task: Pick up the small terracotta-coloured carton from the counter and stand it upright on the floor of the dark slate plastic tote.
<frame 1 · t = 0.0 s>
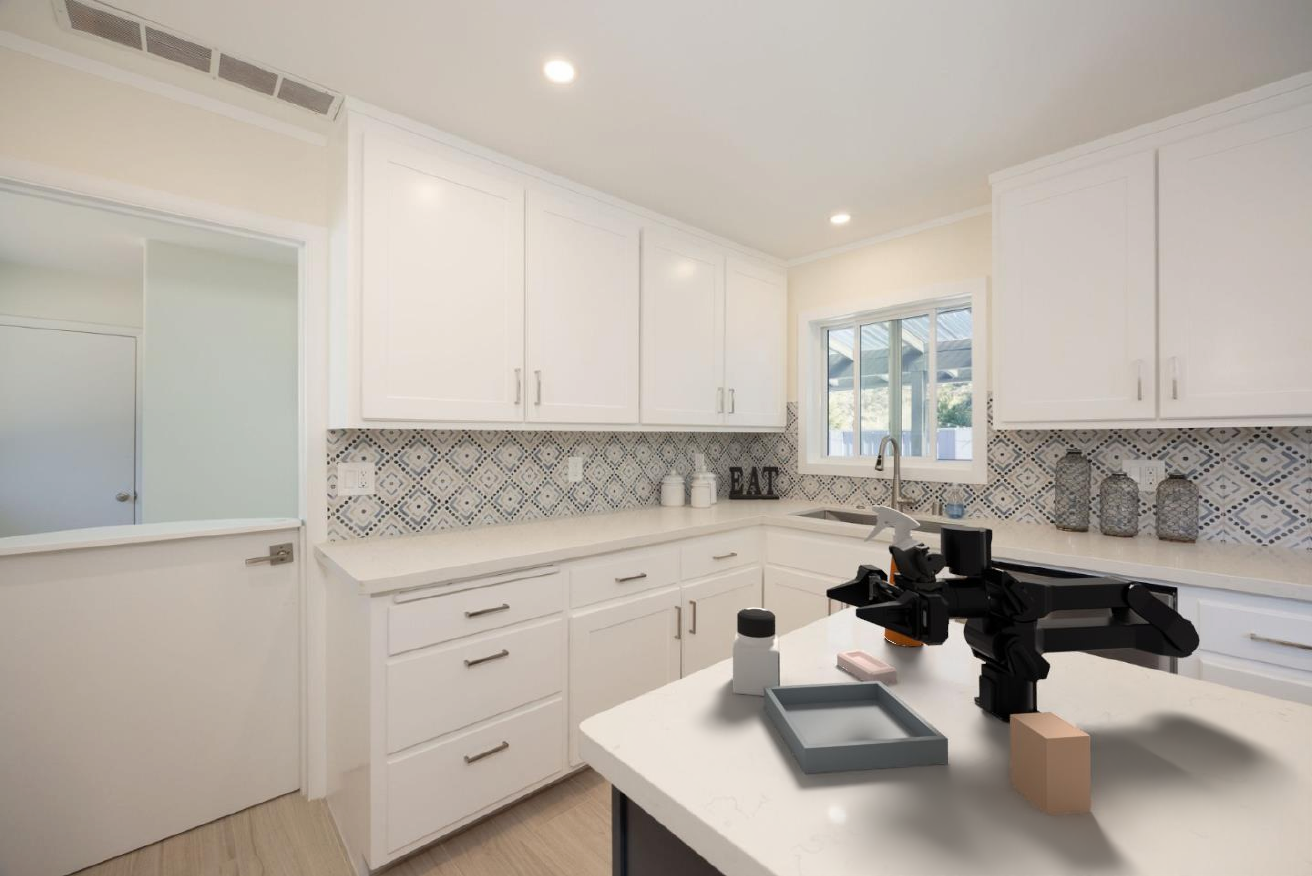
hand: (840, 602, 75), 17 cm above the worktop, tool horizontal, fingers open, 9 cm apart
medicine bottle: (756, 687, 86), on the worktop
carton: (1049, 797, 59), on the worktop
tote: (846, 732, 72), on the worktop
soap bar: (865, 675, 91), on the worktop
spray bottle: (893, 639, 106), on the worktop
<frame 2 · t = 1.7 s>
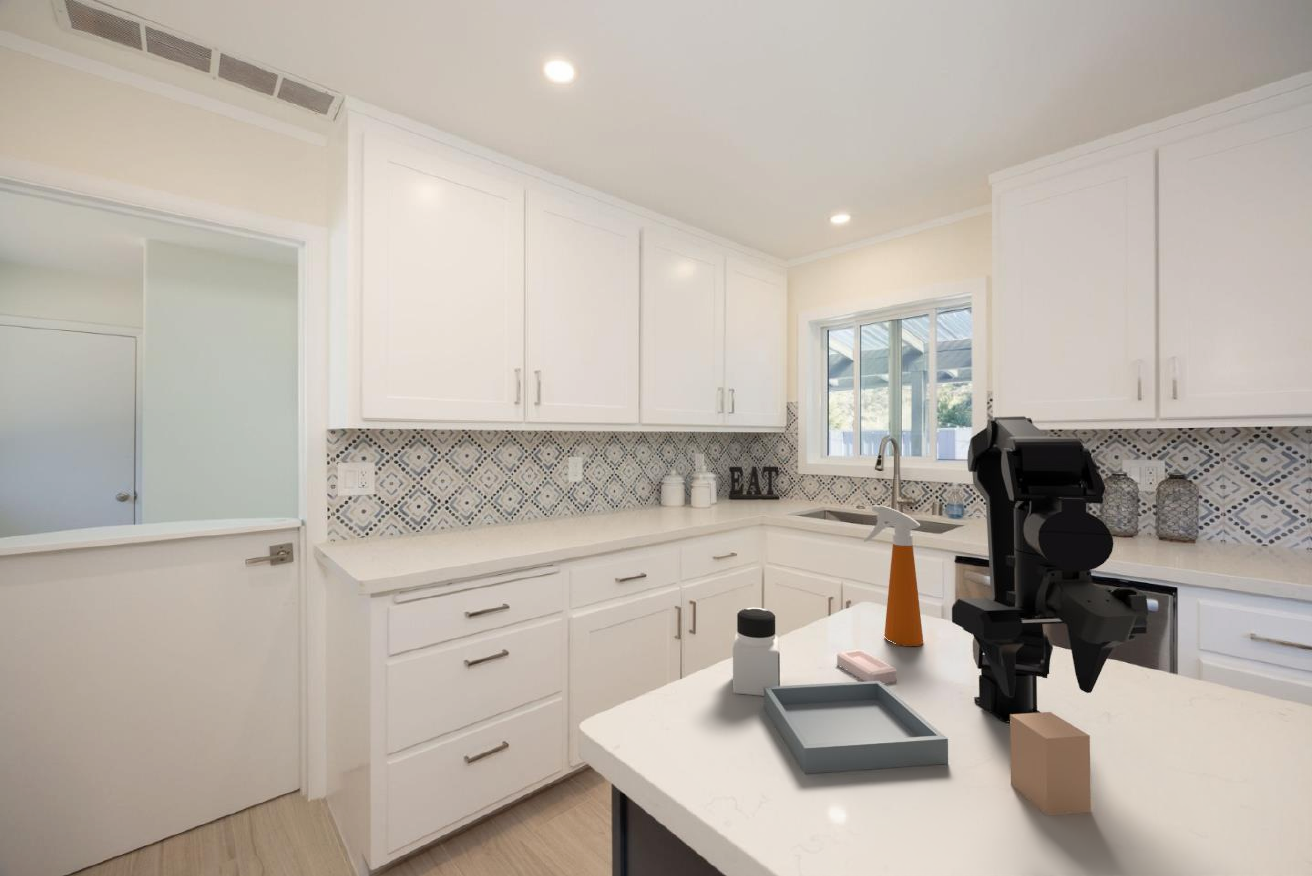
hand: (1047, 693, 59), 11 cm above the worktop, tool pointing down, fingers open, 9 cm apart
nothing on the worktop moved.
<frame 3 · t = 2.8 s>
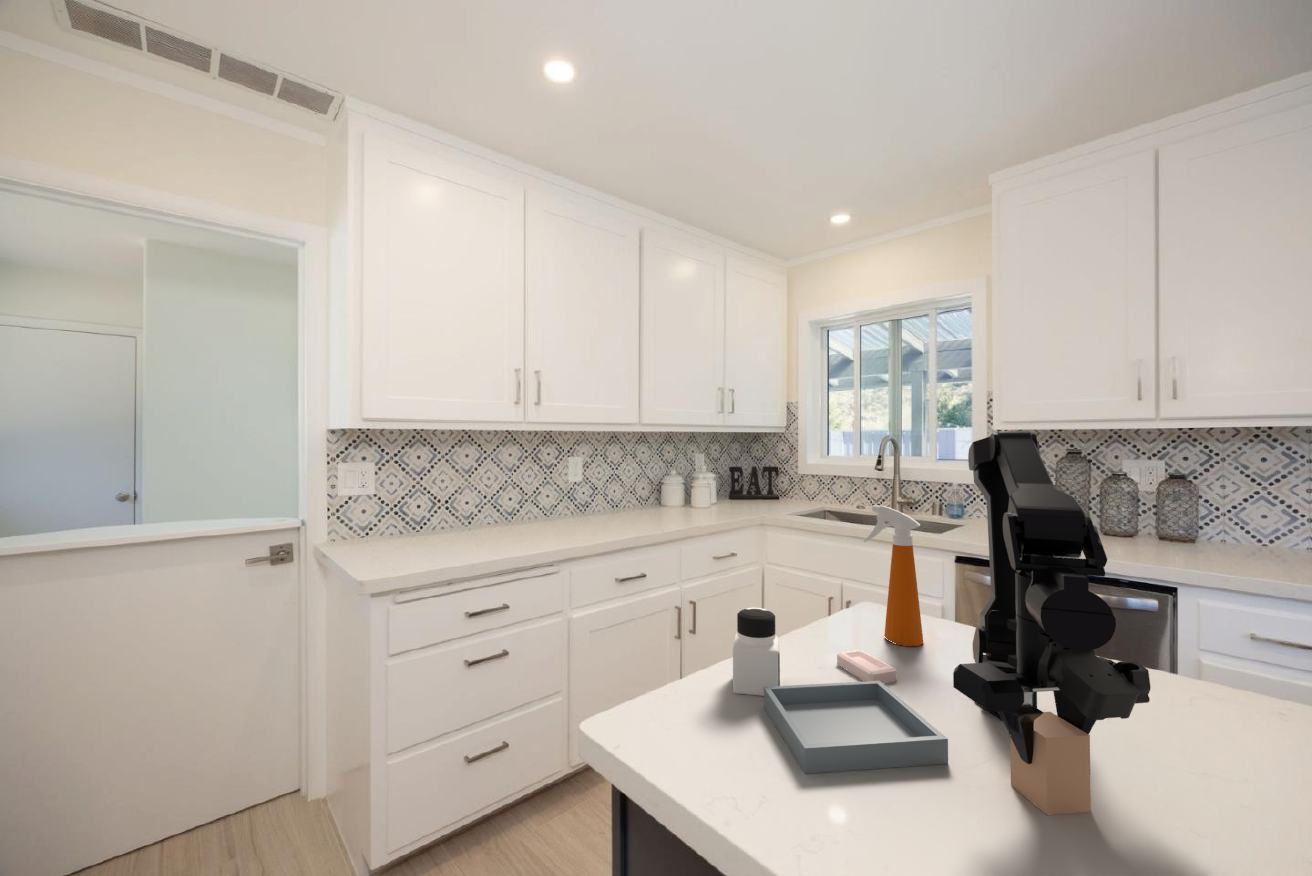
hand: (1048, 760, 59), 4 cm above the worktop, tool pointing down, fingers closed on carton, 5 cm apart
carton: (1049, 797, 59), on the worktop, touching gripper
everything else where it was.
when the fingers open (6 cm above the worktop, at t = 7.2 s): carton drops 2 cm, resting on tote.
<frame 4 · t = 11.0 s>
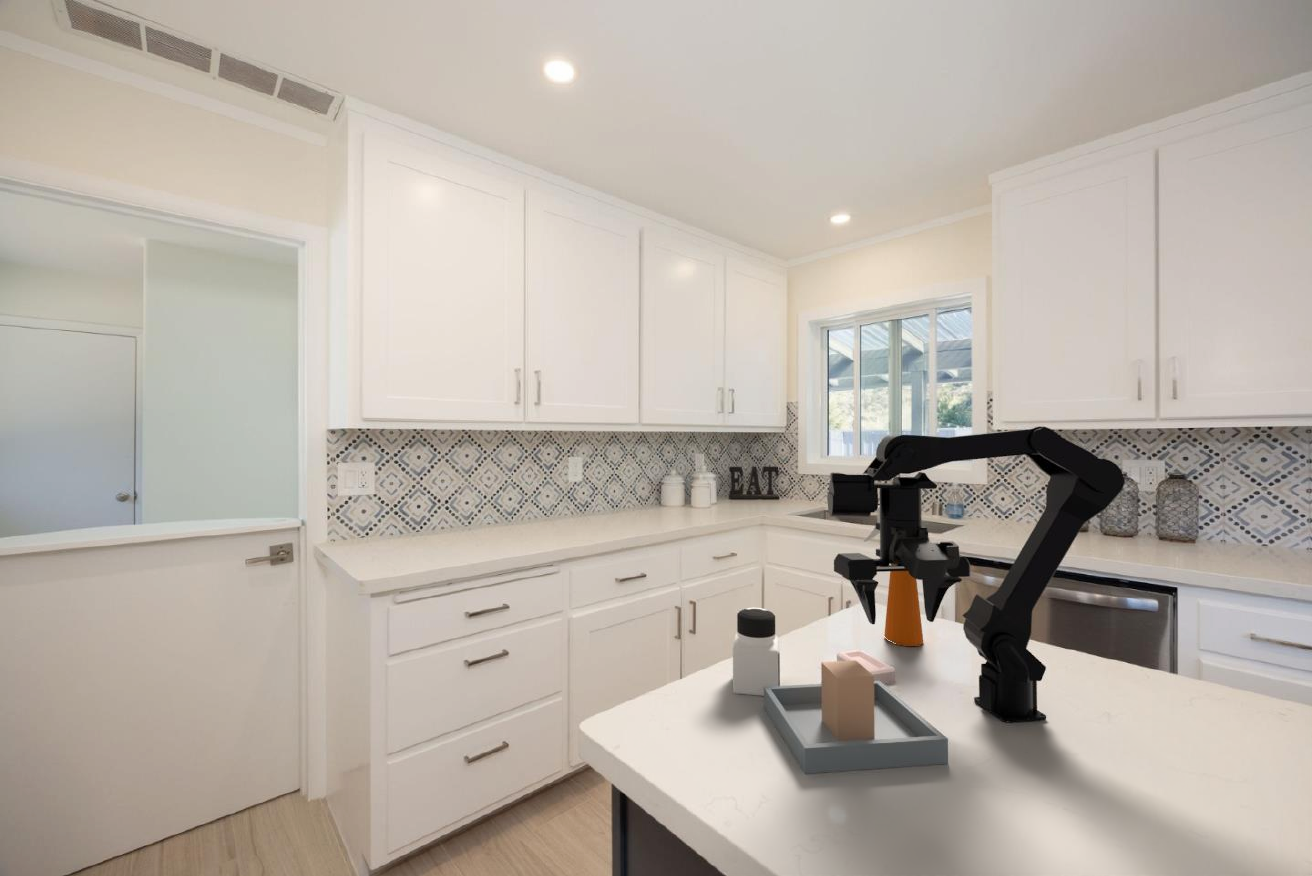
hand: (901, 622, 80), 12 cm above the worktop, tool pointing down, fingers open, 9 cm apart
carton: (847, 728, 72), point 1 cm above the worktop, touching tote
everything else where it was.
at the end: carton inside the target area on the tote (0.1 cm from its centre), point 0.6 cm above the tote's base; carton tilted 0°; the gripper is holding nothing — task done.
